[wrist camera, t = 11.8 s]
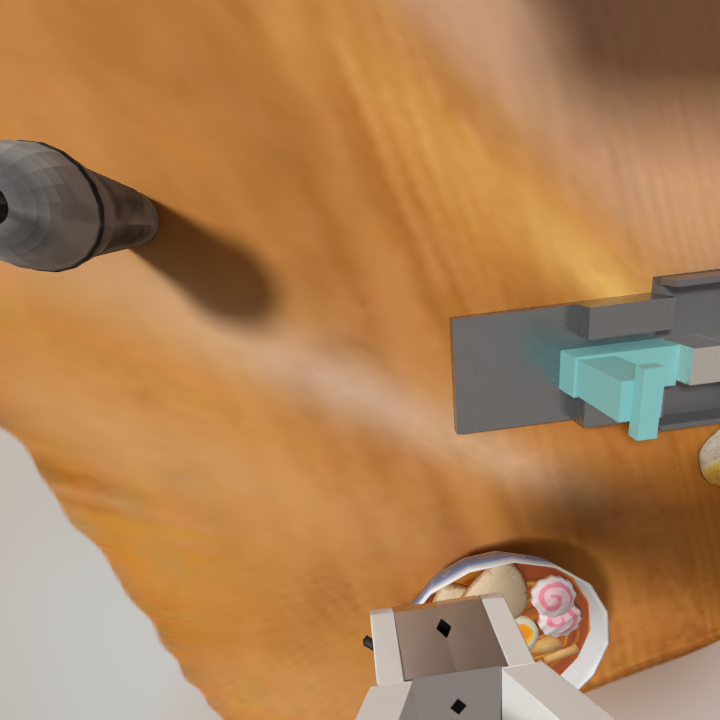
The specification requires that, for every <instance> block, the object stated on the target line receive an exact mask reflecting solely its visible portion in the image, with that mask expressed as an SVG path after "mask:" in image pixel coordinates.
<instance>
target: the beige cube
mask: <svg viewBox="0 0 720 720" xmlns="http://www.w3.org/2000/svg"><path fill="white" fill-rule="evenodd" d="M660 339H663V340H667V341H670V342H673V343H676V344H680V345H681V347H680V354H679V362H678V370H677V377H676V380H677V381H680V382H682V383H685V384H687V385H697V384H705V383H713V382H720V341H719V340H715V339H711V338H707V337H704V336H700V335H696V334H691V335H682V336H674V337H665V338H660Z"/></svg>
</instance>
